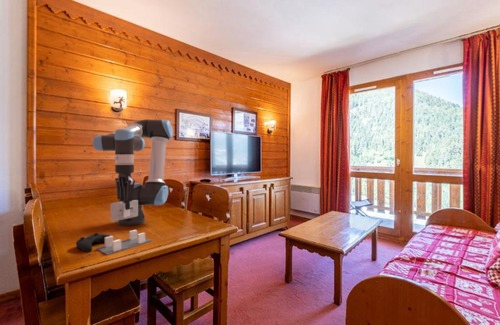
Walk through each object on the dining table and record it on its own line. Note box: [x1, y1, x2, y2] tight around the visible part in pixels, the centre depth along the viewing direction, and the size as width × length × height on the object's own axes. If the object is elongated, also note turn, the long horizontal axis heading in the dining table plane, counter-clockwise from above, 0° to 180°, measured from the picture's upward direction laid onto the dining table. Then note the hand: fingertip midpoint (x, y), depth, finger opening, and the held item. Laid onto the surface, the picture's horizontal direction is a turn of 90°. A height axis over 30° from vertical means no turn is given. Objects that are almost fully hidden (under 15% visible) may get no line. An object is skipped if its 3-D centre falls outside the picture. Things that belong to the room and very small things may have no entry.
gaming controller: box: [75, 232, 111, 253], centre depth 109 cm, size 14×6×10 cm
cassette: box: [110, 200, 138, 222], centre depth 110 cm, size 12×2×8 cm, turn 144°
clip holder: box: [96, 229, 153, 256], centre depth 110 cm, size 10×20×4 cm, turn 144°
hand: (125, 215), depth 110 cm, fingers closed on cassette, 2 cm apart
